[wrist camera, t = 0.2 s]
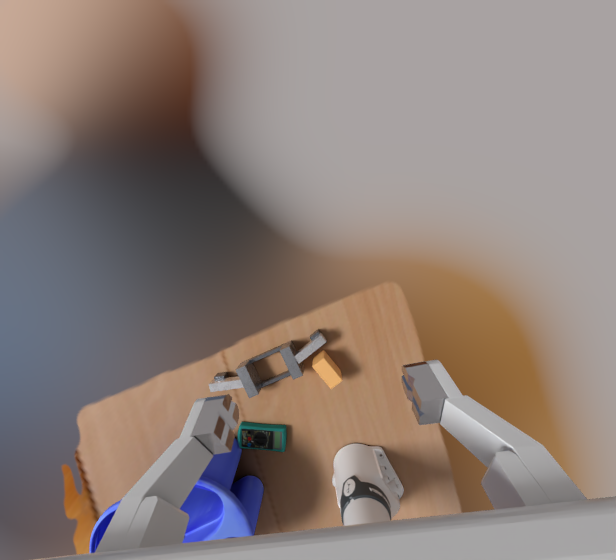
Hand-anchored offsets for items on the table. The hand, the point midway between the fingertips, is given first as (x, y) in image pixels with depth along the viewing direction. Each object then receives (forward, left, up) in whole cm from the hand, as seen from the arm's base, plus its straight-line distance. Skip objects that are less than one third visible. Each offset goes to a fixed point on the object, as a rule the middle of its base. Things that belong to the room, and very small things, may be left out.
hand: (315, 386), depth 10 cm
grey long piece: (-9, +27, -54) cm, 61 cm away
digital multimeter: (-24, +44, -54) cm, 74 cm away
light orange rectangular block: (-19, +14, -54) cm, 59 cm away
